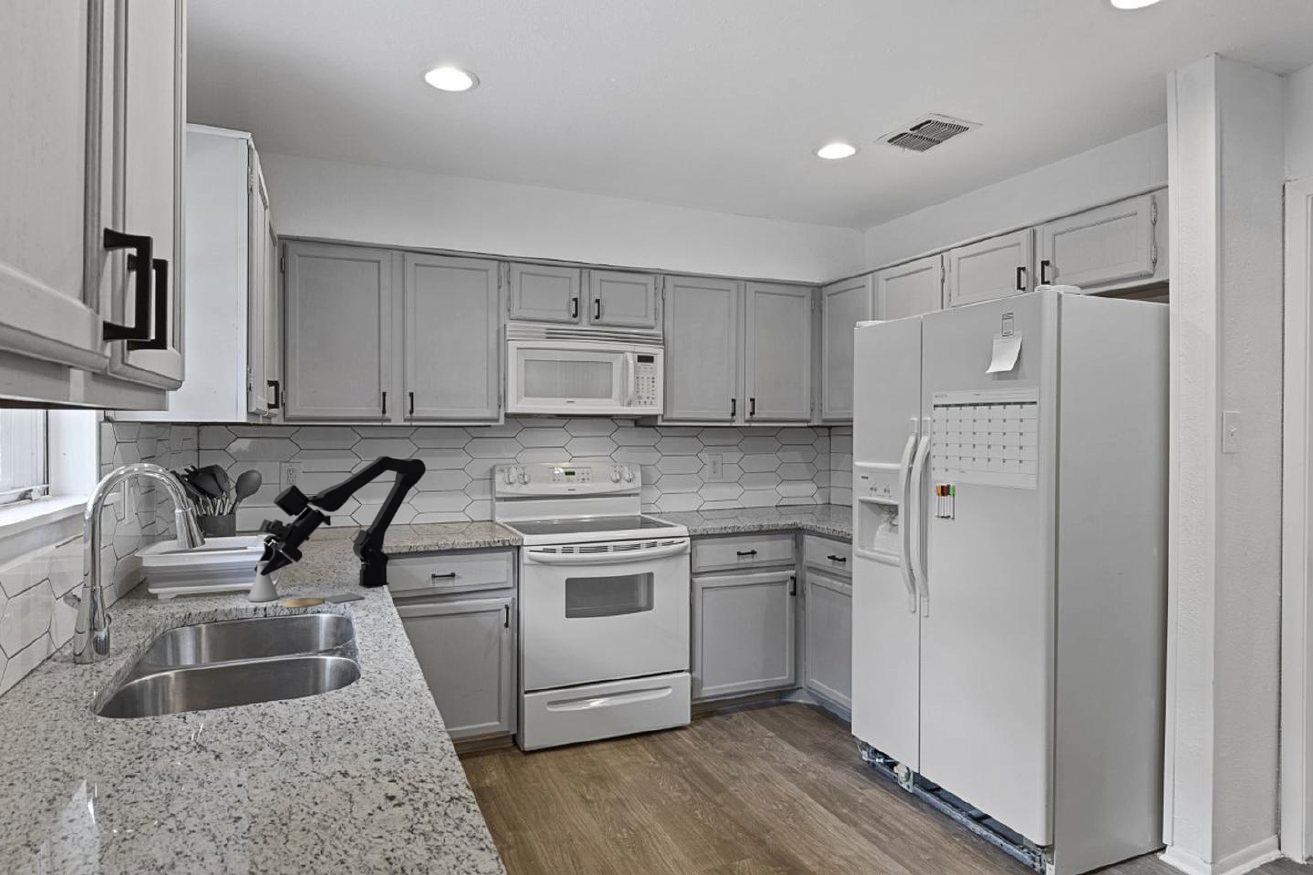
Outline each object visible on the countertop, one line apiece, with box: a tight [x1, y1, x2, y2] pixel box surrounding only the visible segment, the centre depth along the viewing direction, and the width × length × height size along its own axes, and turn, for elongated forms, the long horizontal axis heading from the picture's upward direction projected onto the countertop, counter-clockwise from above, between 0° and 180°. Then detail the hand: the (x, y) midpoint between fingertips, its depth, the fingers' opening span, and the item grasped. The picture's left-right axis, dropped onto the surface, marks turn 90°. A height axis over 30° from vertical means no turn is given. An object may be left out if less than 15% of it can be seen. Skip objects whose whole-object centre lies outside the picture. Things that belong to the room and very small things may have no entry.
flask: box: [247, 561, 280, 602], centre depth 207 cm, size 7×7×10 cm
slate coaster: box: [322, 592, 366, 605], centre depth 207 cm, size 8×8×1 cm
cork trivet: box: [280, 596, 325, 608], centre depth 202 cm, size 10×10×1 cm
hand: (258, 572), depth 206 cm, fingers open, 7 cm apart
